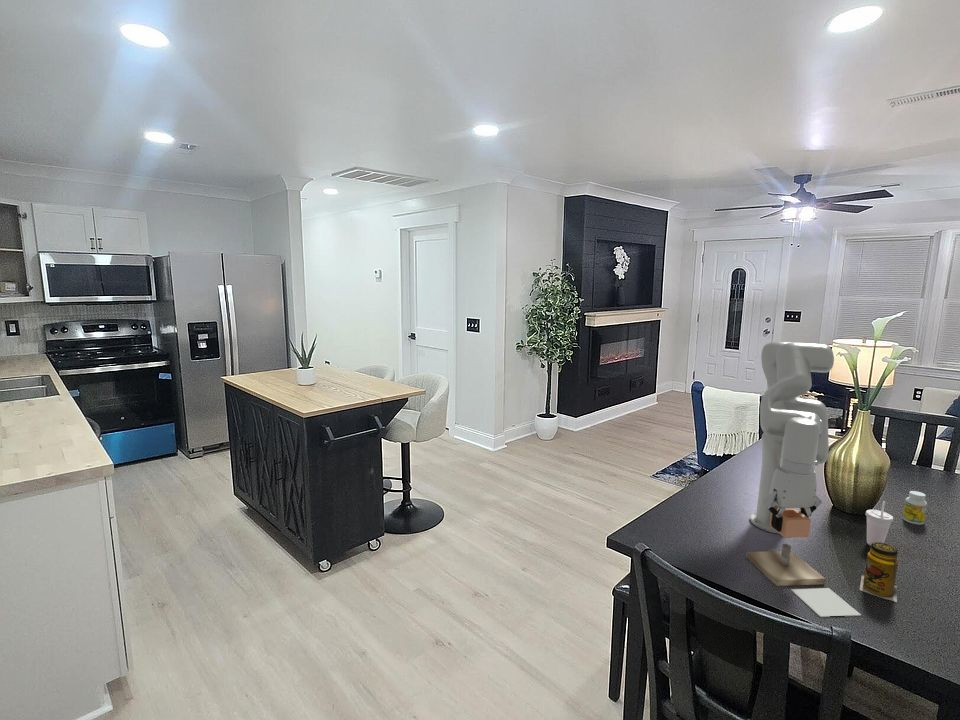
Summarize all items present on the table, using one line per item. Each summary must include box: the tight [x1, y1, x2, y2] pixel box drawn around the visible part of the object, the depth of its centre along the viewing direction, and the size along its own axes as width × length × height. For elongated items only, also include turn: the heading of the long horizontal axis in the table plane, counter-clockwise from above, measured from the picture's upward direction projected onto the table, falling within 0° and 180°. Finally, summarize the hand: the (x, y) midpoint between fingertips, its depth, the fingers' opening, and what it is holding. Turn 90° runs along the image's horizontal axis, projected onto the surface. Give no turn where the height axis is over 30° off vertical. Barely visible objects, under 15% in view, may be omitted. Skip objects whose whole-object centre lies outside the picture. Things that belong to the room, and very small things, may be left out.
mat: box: [790, 587, 862, 618], centre depth 121 cm, size 10×10×1 cm
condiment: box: [859, 542, 899, 603], centre depth 126 cm, size 7×8×12 cm
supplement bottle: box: [902, 490, 928, 526], centre depth 161 cm, size 5×5×10 cm
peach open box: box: [769, 508, 812, 539], centre depth 132 cm, size 6×6×5 cm
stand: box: [745, 543, 826, 587], centre depth 134 cm, size 13×13×7 cm
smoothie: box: [865, 500, 894, 547], centre depth 146 cm, size 6×6×14 cm
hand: (788, 527), depth 133 cm, fingers closed on peach open box, 6 cm apart
